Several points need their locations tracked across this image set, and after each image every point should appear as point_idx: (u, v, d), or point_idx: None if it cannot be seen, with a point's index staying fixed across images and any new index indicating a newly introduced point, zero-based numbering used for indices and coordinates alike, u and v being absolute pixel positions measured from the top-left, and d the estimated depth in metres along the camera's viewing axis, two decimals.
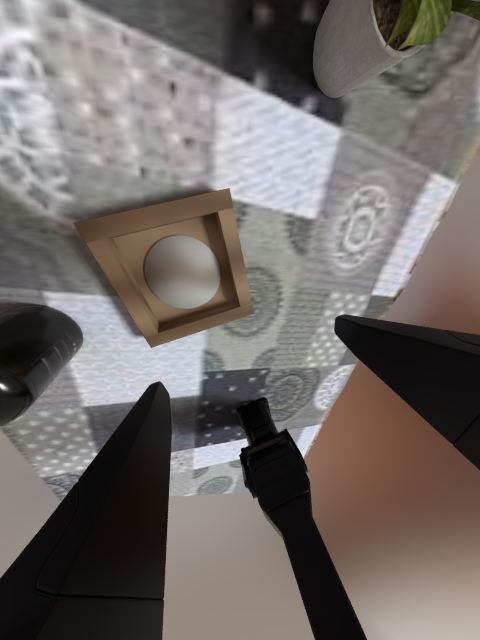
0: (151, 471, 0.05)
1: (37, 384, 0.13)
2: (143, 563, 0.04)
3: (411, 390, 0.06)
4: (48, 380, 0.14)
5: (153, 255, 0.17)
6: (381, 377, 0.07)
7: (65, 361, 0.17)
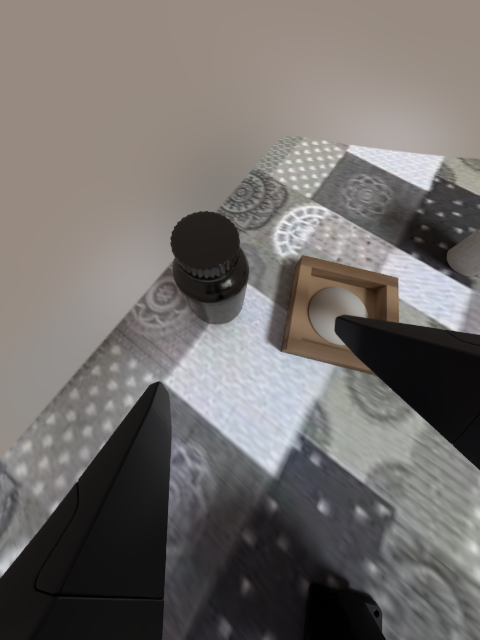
0: (151, 471, 0.05)
1: (240, 293, 0.15)
2: (143, 563, 0.04)
3: (411, 390, 0.06)
4: (234, 303, 0.16)
5: (323, 293, 0.24)
6: (381, 377, 0.07)
7: (233, 311, 0.19)
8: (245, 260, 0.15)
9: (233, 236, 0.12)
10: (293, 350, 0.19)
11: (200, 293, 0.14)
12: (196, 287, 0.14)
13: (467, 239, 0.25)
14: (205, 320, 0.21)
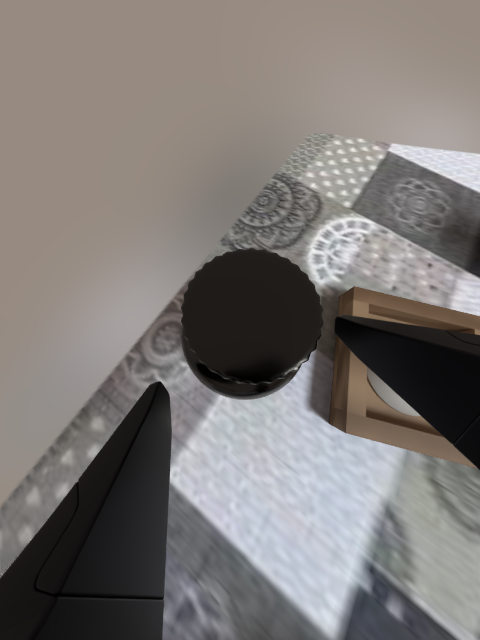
0: (151, 471, 0.05)
1: None
2: (143, 563, 0.04)
3: (411, 390, 0.06)
4: None
5: None
6: (381, 377, 0.07)
7: None
8: None
9: (310, 302, 0.06)
10: (355, 434, 0.13)
11: (231, 389, 0.08)
12: (225, 380, 0.07)
13: None
14: None
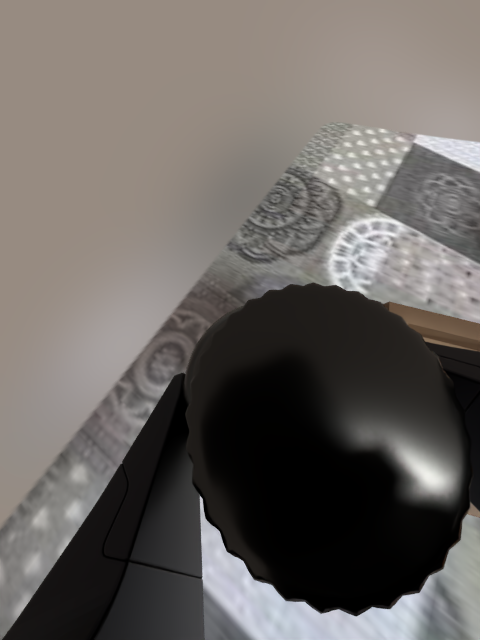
0: (185, 457, 0.05)
1: None
2: (185, 542, 0.04)
3: None
4: None
5: None
6: None
7: None
8: None
9: (440, 397, 0.03)
10: None
11: None
12: None
13: None
14: None
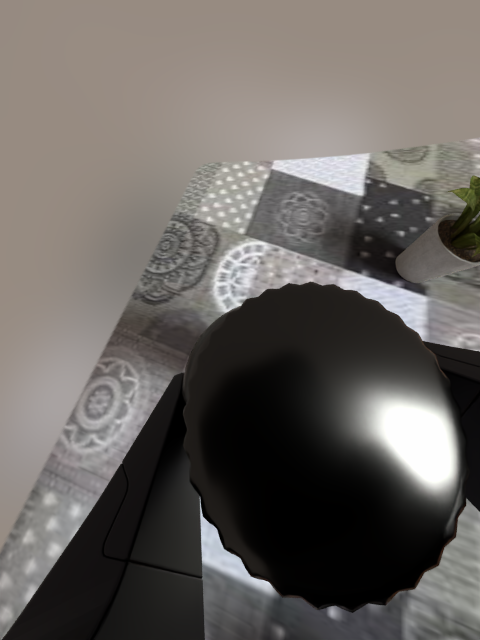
0: (185, 457, 0.05)
1: None
2: (185, 542, 0.04)
3: None
4: None
5: None
6: None
7: None
8: None
9: (436, 396, 0.03)
10: None
11: None
12: None
13: (410, 249, 0.23)
14: None
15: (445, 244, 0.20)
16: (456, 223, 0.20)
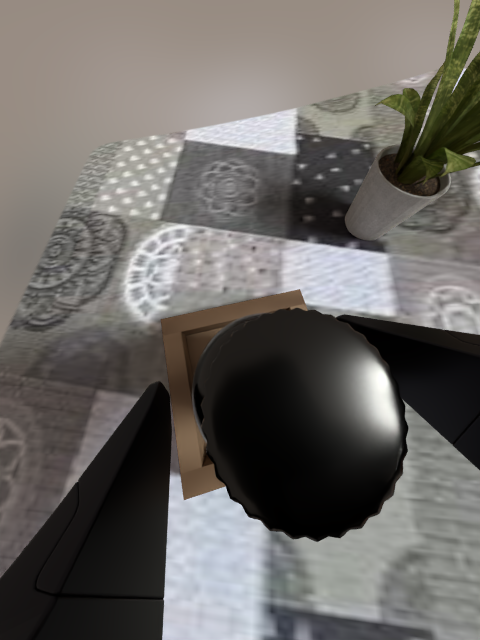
0: (151, 471, 0.05)
1: None
2: (143, 563, 0.04)
3: (411, 390, 0.06)
4: None
5: None
6: None
7: None
8: None
9: (387, 396, 0.04)
10: (195, 493, 0.12)
11: None
12: None
13: (356, 200, 0.19)
14: None
15: (391, 182, 0.16)
16: (399, 155, 0.16)
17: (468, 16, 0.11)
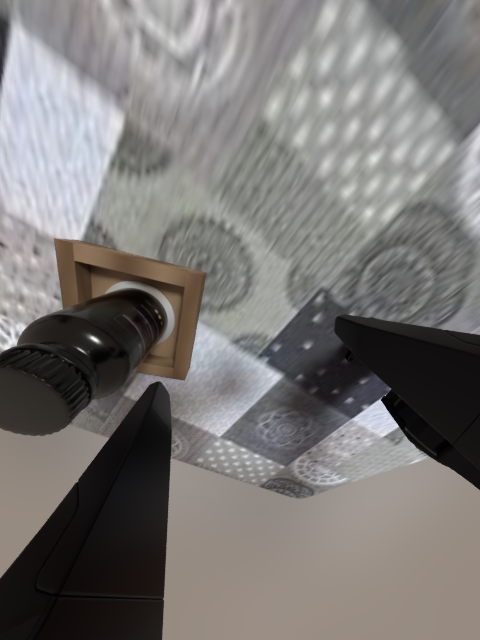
0: (151, 471, 0.05)
1: (126, 338, 0.12)
2: (143, 563, 0.04)
3: (411, 390, 0.06)
4: (140, 339, 0.13)
5: None
6: (381, 377, 0.07)
7: (153, 326, 0.16)
8: (71, 326, 0.10)
9: (14, 375, 0.08)
10: (184, 374, 0.21)
11: (111, 389, 0.12)
12: (102, 392, 0.12)
13: None
14: None
15: None
16: None
17: None
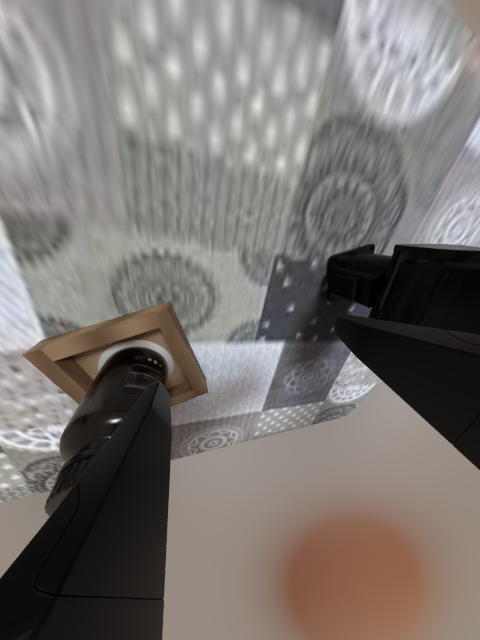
0: (151, 471, 0.05)
1: None
2: (143, 563, 0.04)
3: (411, 390, 0.06)
4: None
5: None
6: (381, 377, 0.07)
7: (155, 374, 0.17)
8: (93, 424, 0.12)
9: None
10: (205, 388, 0.23)
11: None
12: None
13: None
14: None
15: None
16: None
17: None
